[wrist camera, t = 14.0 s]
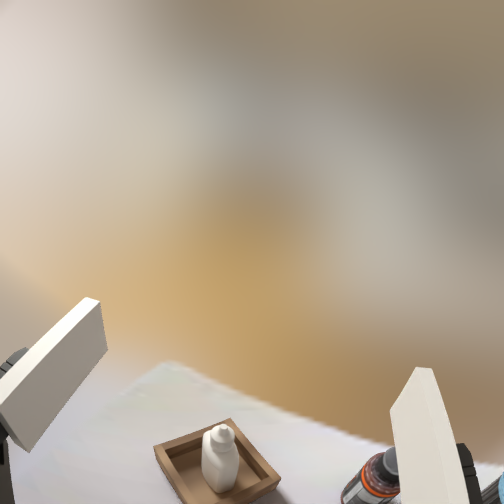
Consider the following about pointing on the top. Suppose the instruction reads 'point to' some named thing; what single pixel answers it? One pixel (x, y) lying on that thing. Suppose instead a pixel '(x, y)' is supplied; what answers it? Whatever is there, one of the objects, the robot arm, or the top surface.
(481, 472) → the top surface
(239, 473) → the holder
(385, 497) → the supplement bottle
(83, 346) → the robot arm
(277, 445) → the top surface
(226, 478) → the eye dropper bottle
